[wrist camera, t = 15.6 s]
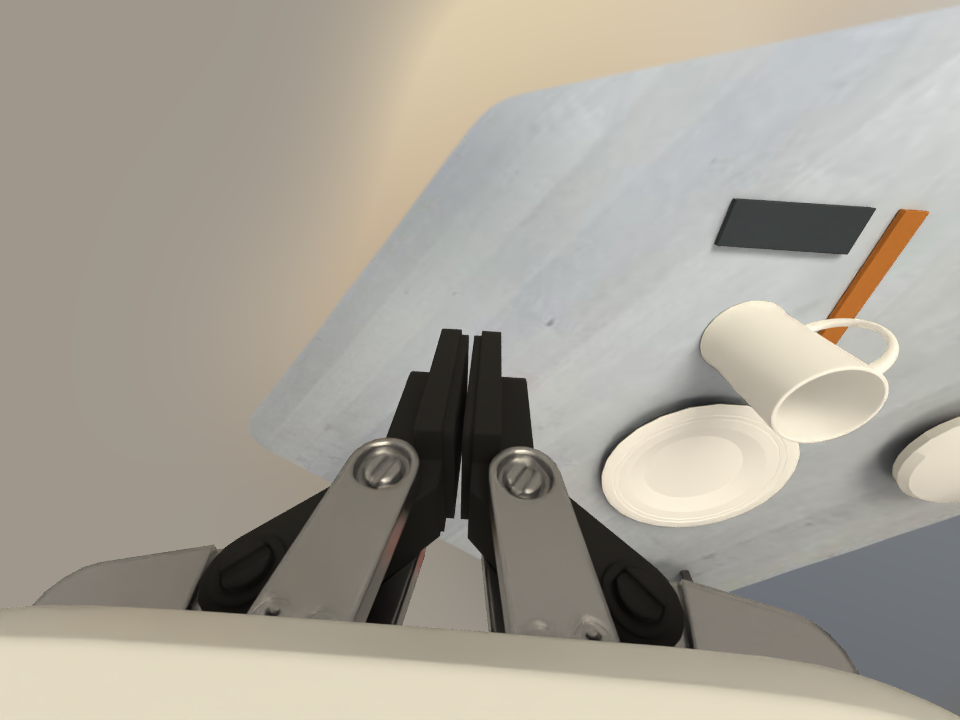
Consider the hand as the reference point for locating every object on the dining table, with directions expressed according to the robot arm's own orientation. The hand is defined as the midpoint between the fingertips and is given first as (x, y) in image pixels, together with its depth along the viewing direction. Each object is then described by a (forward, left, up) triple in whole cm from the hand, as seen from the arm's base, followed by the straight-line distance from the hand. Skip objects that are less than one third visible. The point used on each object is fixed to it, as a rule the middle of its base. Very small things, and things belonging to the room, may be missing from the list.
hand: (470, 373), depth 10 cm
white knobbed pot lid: (+24, +60, -27) cm, 70 cm away
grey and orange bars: (+7, +29, -26) cm, 40 cm away
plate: (+32, +30, -27) cm, 51 cm away
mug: (+10, +29, -27) cm, 41 cm away
